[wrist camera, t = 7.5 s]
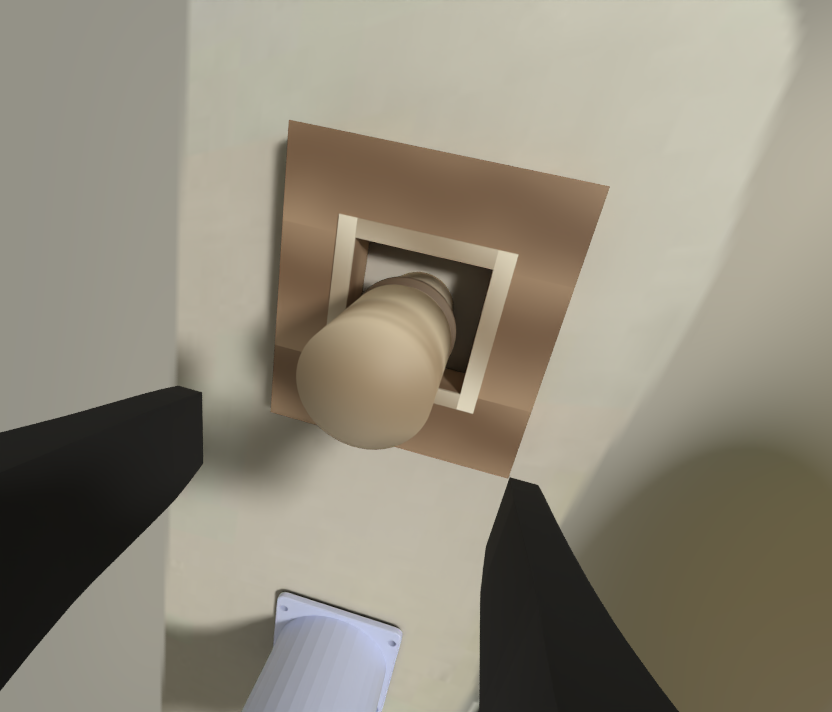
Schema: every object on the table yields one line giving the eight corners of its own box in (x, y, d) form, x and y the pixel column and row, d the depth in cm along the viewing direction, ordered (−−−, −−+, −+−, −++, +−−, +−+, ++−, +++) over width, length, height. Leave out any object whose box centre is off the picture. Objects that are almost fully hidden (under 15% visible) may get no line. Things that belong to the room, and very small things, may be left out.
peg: (450, 359, 20) (415, 468, 12) (367, 334, 20) (286, 426, 13) (475, 275, 18) (452, 345, 11) (384, 249, 18) (304, 300, 11)
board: (508, 451, 21) (508, 480, 19) (290, 392, 22) (269, 413, 20) (598, 184, 16) (610, 186, 14) (312, 125, 17) (287, 119, 15)
